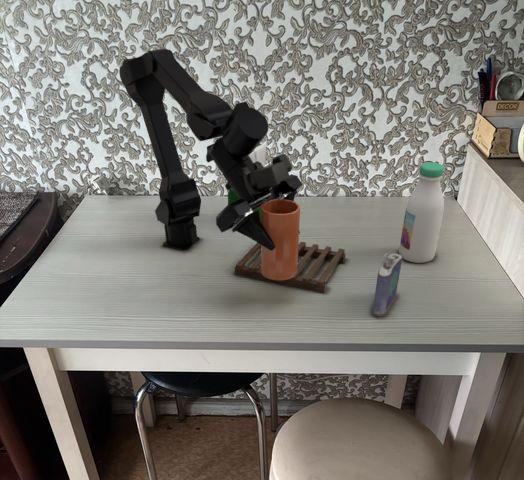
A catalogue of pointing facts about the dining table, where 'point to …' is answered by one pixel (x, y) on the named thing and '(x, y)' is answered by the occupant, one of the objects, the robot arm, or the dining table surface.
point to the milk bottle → (423, 216)
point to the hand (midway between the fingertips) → (285, 242)
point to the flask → (387, 283)
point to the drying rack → (296, 280)
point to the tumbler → (280, 238)
